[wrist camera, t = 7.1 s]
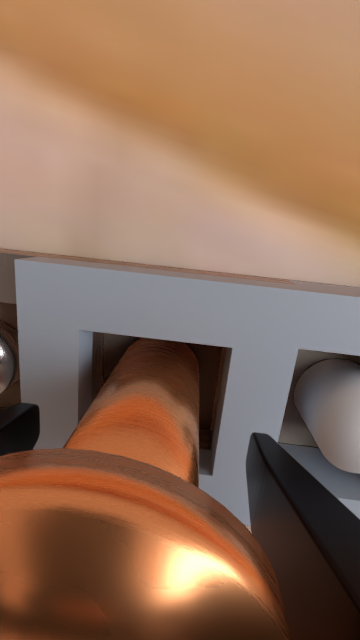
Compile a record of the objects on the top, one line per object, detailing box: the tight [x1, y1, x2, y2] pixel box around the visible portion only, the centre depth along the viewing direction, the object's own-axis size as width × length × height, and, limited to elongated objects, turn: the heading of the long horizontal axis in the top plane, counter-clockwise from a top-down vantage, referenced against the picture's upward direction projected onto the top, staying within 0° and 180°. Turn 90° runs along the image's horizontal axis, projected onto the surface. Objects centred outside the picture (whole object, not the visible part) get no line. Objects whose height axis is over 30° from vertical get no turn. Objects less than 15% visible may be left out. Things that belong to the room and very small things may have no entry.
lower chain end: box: [0, 249, 296, 450], centre depth 11 cm, size 8×14×1 cm, turn 84°
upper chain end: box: [14, 257, 360, 526], centre depth 10 cm, size 8×14×2 cm, turn 84°
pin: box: [0, 337, 291, 640], centre depth 7 cm, size 5×5×8 cm
